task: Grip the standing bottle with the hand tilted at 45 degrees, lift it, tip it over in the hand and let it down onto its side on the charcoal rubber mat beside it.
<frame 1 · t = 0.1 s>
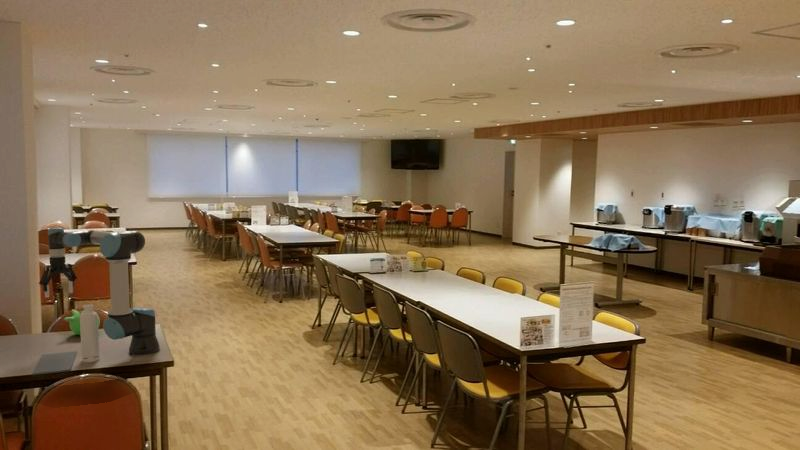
hand: (59, 295, 337), 28 cm above the table, tool pointing down, fingers open, 13 cm apart
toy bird: (84, 334, 362), on the table
mat: (55, 363, 308), on the table
bottle: (90, 359, 315), on the table
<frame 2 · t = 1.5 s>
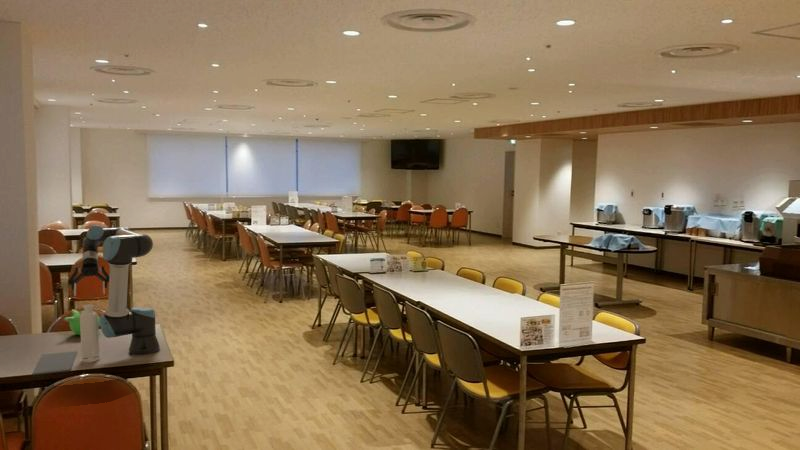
hand: (89, 293, 324), 31 cm above the table, tool tilted 45°, fingers open, 13 cm apart
nothing on the table moved.
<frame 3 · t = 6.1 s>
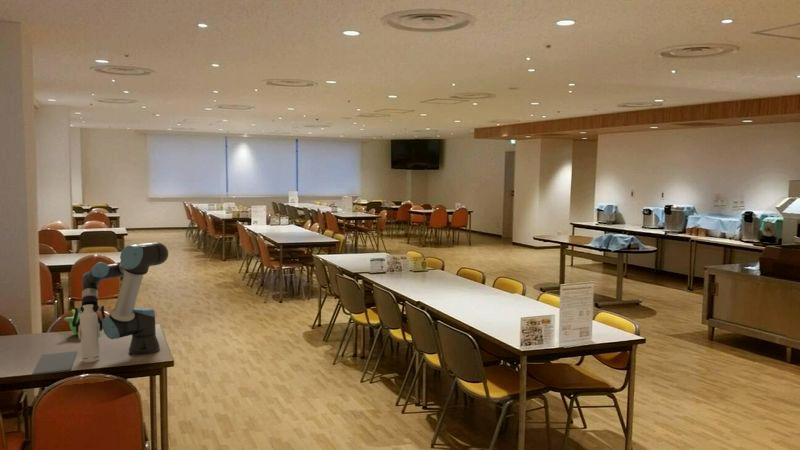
hand: (89, 336, 310), 13 cm above the table, tool tilted 45°, fingers closed on bottle, 8 cm apart
bottle: (90, 359, 315), on the table, touching gripper
everything else where it was.
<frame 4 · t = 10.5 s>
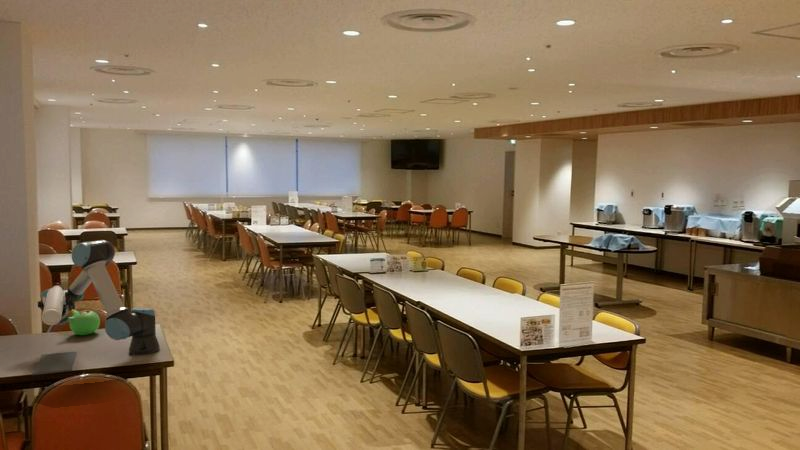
hand: (53, 298, 303), 33 cm above the table, tool pointing upward, fingers closed on bottle, 8 cm apart
bottle: (51, 317, 293), point 26 cm above the table, touching gripper
everything else where it was.
when the fingers open (25 cm above the table, at t = 13.6 s): bottle drops 14 cm, resting on mat.
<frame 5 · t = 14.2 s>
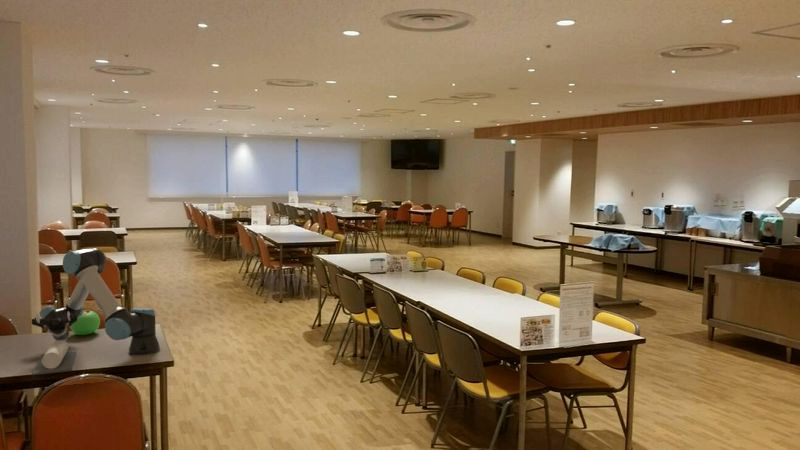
hand: (52, 315, 305), 25 cm above the table, tool pointing upward, fingers open, 13 cm apart
bottle: (51, 360, 297), point 5 cm above the table, touching mat
everything else where it was.
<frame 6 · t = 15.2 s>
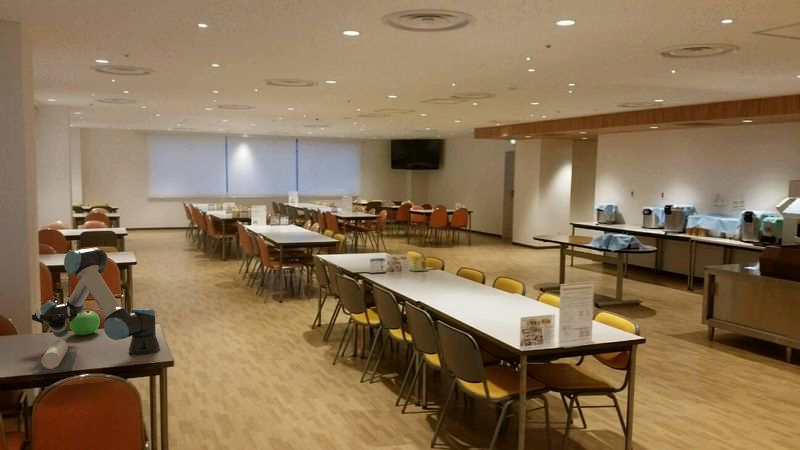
hand: (52, 310, 308), 26 cm above the table, tool pointing upward, fingers open, 13 cm apart
nothing on the table moved.
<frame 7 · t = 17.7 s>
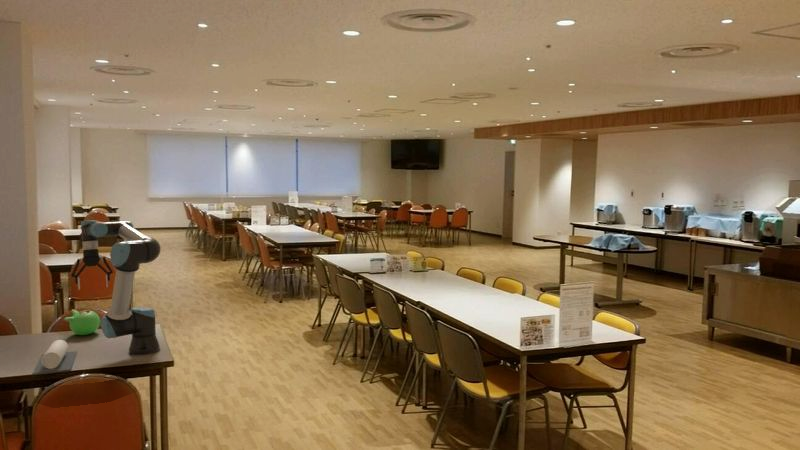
hand: (93, 288, 334), 32 cm above the table, tool pointing down, fingers open, 13 cm apart
nothing on the table moved.
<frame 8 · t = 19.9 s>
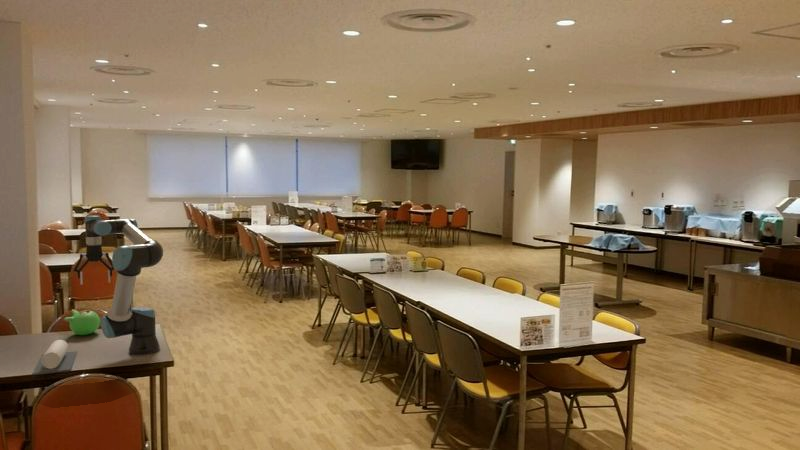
hand: (95, 283, 335), 35 cm above the table, tool pointing down, fingers open, 13 cm apart
nothing on the table moved.
at the end: bottle tilted 90°; bottle touching mat; the gripper is holding nothing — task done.
